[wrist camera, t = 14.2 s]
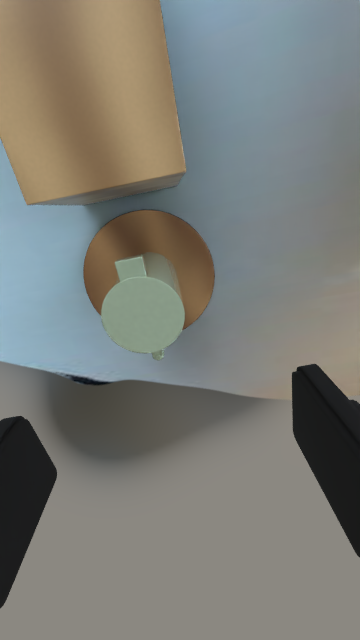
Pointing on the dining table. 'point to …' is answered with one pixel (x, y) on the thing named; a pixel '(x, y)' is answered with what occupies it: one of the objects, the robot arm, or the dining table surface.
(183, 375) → the dining table surface
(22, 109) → the shelf unit
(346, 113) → the dining table surface
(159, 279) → the jug
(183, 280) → the disc
